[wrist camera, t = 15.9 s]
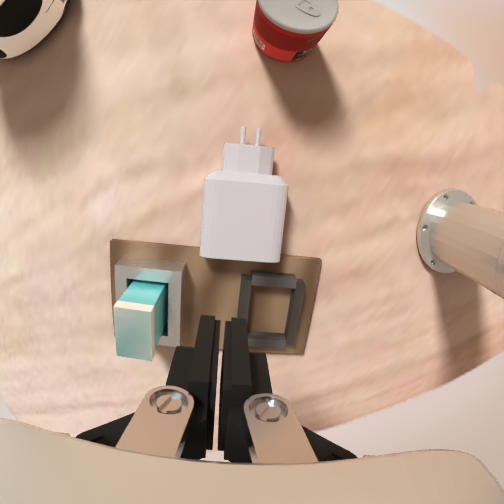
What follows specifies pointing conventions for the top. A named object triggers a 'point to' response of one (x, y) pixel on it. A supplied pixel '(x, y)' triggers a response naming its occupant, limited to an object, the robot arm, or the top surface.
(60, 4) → the milk container
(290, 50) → the canned food
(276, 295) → the brown socket board
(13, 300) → the top surface
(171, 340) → the frame
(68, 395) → the top surface
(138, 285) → the plug
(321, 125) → the top surface
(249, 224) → the charger
